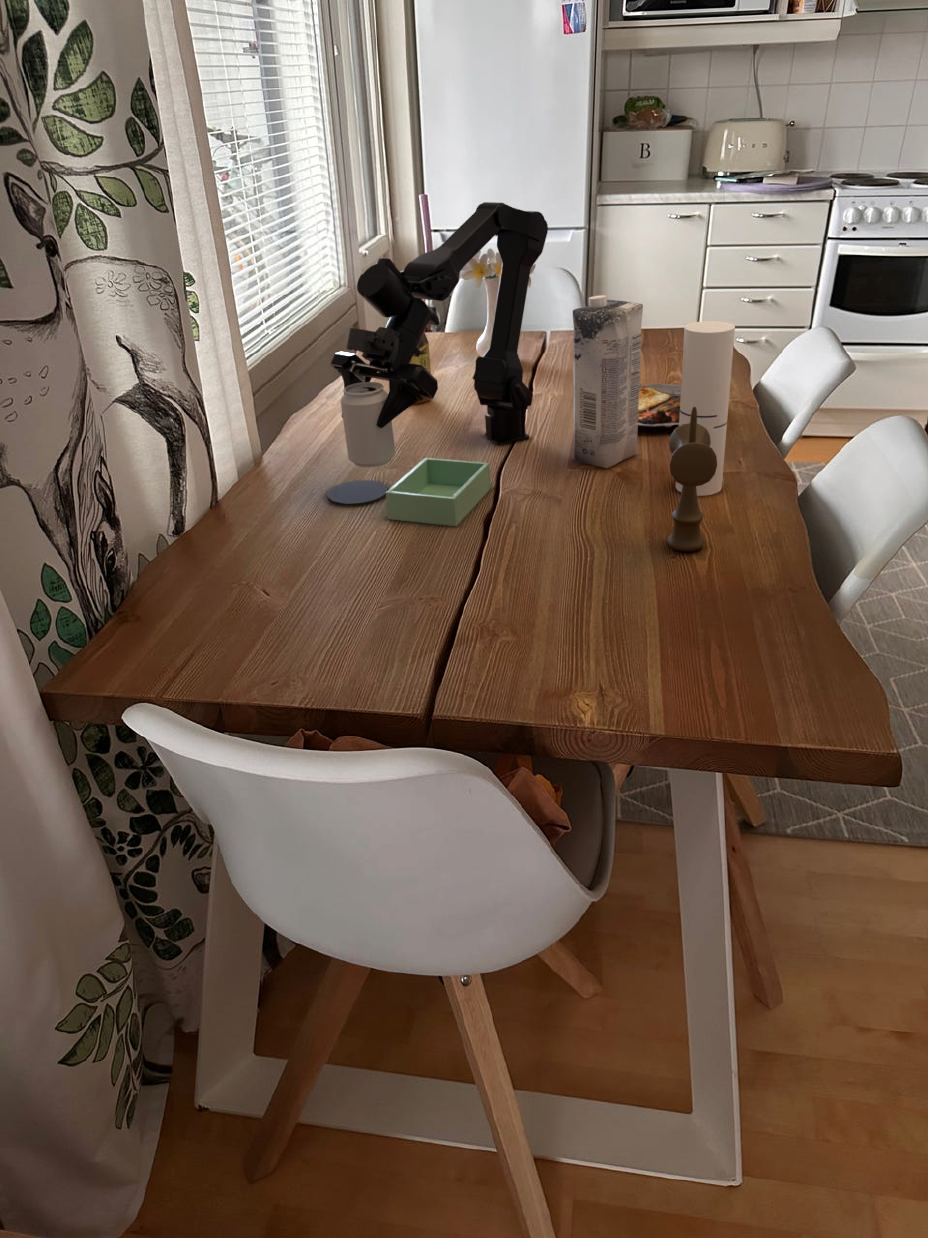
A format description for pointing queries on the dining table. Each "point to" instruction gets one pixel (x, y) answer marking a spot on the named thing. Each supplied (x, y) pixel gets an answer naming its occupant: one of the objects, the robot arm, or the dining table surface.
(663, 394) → the food plate
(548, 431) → the dining table surface
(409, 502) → the green open box
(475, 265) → the flower vase
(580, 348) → the juice carton
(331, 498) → the coaster
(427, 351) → the sauce bottle
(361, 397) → the can
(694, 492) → the kendama
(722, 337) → the cylindrical container
